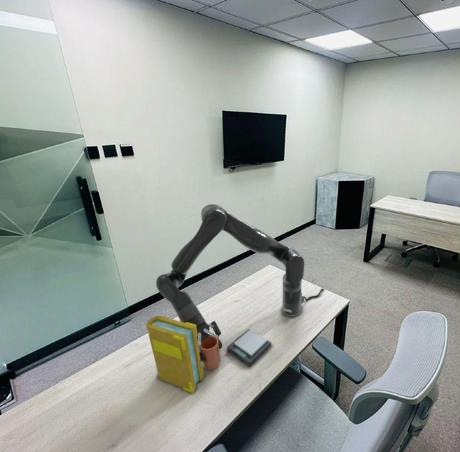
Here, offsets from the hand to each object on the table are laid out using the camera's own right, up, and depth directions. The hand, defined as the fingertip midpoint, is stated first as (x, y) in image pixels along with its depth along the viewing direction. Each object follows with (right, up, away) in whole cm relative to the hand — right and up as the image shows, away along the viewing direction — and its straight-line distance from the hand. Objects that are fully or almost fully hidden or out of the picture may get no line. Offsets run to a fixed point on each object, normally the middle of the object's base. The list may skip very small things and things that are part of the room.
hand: (213, 354), depth 102 cm
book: (-12, -8, -2) cm, 14 cm away
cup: (-1, -4, +3) cm, 5 cm away
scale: (+12, -3, +11) cm, 17 cm away
